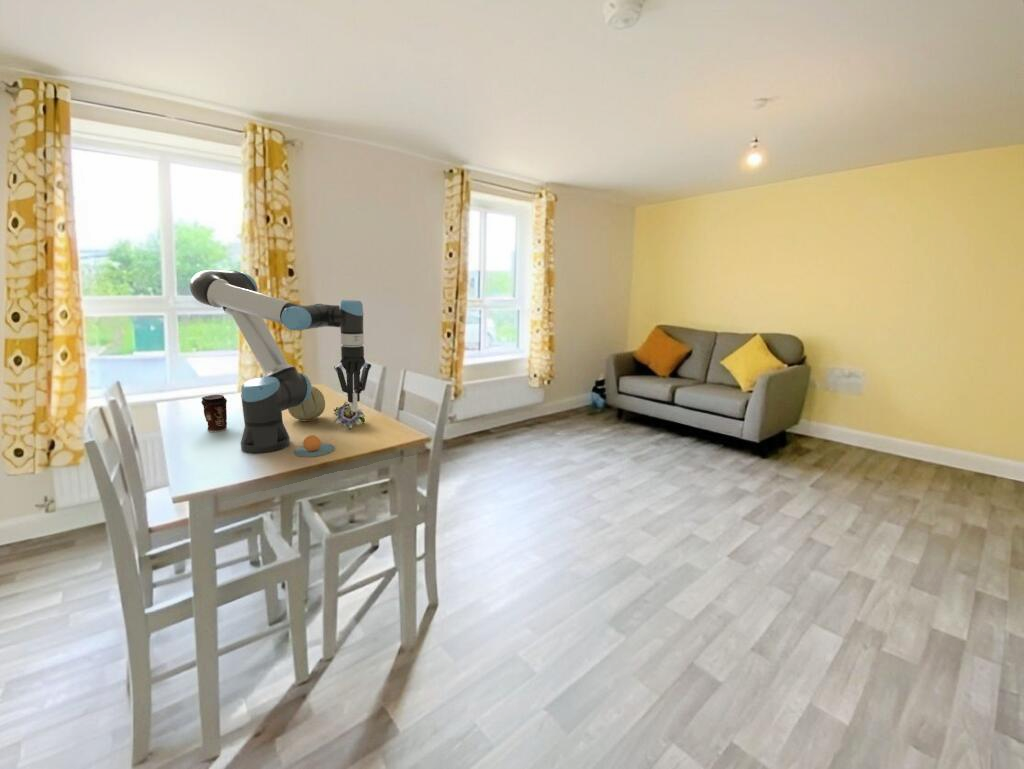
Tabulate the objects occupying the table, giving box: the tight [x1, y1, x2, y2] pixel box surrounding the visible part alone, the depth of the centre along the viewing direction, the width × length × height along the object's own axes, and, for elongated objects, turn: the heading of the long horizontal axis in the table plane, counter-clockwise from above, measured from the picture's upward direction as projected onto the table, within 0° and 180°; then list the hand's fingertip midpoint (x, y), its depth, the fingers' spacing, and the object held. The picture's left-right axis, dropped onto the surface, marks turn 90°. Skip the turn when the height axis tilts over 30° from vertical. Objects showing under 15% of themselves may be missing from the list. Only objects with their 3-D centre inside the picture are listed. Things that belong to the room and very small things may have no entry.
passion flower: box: [333, 401, 366, 429], centre depth 188 cm, size 11×11×12 cm
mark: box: [293, 442, 336, 458], centre depth 161 cm, size 13×13×1 cm
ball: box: [302, 434, 322, 452], centre depth 159 cm, size 6×6×6 cm
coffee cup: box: [200, 394, 228, 433], centre depth 179 cm, size 9×8×13 cm
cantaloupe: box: [287, 385, 326, 422], centre depth 193 cm, size 15×15×15 cm
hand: (354, 410), depth 169 cm, fingers closed
